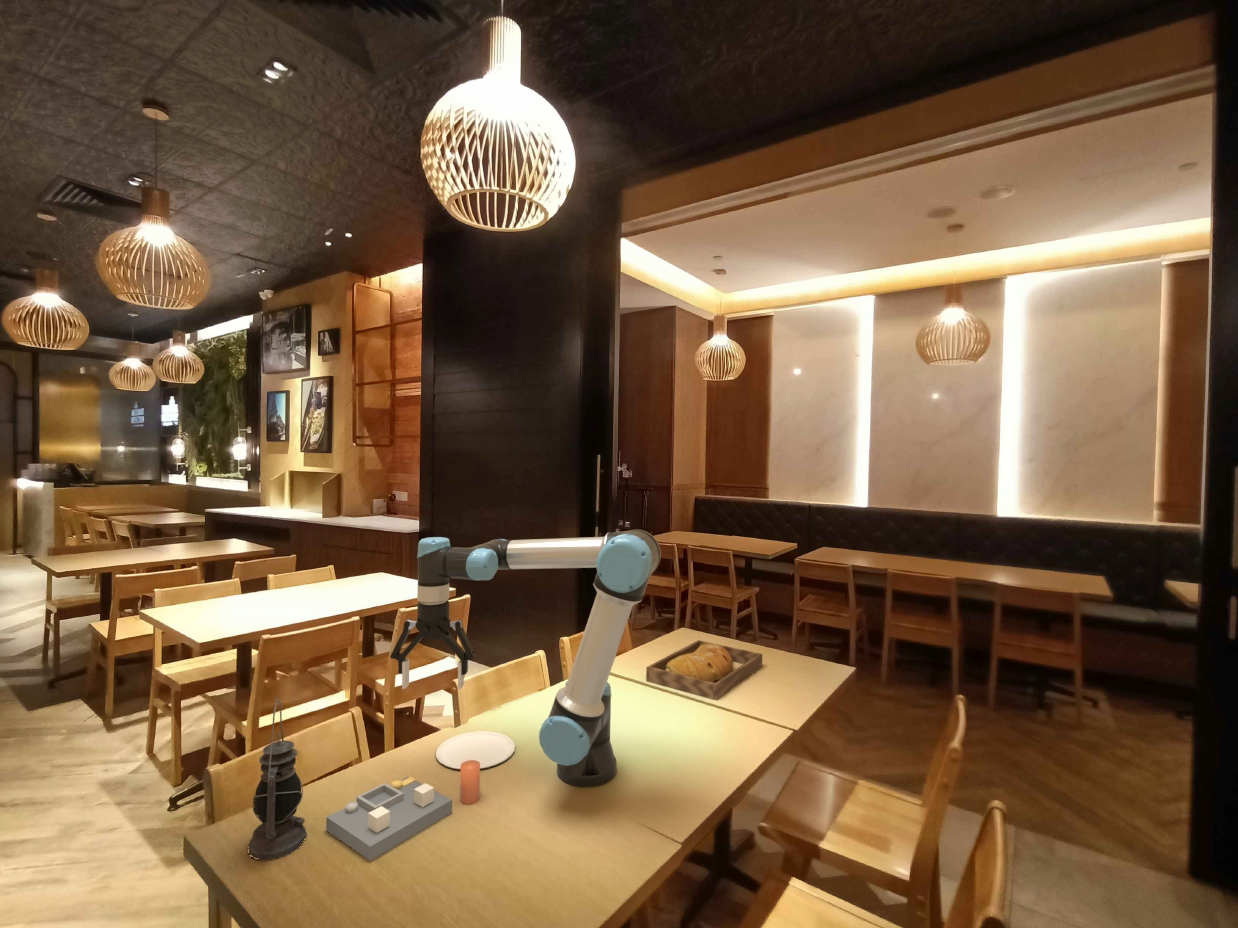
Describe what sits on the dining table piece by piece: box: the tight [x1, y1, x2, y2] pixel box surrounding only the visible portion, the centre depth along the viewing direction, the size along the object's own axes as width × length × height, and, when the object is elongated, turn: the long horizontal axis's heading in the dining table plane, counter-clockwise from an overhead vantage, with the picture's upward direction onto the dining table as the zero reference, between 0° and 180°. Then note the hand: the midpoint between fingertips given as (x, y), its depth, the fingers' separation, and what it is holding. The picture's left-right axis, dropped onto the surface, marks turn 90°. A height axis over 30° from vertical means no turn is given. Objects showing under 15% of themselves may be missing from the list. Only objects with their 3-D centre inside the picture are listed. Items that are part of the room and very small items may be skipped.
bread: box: [665, 643, 734, 683], centre depth 223 cm, size 32×20×10 cm, turn 140°
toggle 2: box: [414, 783, 435, 807], centre depth 133 cm, size 3×3×3 cm
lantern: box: [247, 697, 308, 861], centre depth 123 cm, size 12×11×30 cm
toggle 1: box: [368, 806, 390, 833], centre depth 124 cm, size 3×3×3 cm
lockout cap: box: [459, 760, 481, 805], centre depth 140 cm, size 4×4×8 cm
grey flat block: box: [325, 776, 453, 862], centre depth 131 cm, size 16×20×4 cm
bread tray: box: [645, 639, 763, 701], centre depth 223 cm, size 27×39×5 cm
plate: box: [435, 730, 516, 771], centre depth 162 cm, size 21×21×1 cm
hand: (433, 686), depth 148 cm, fingers open, 13 cm apart
